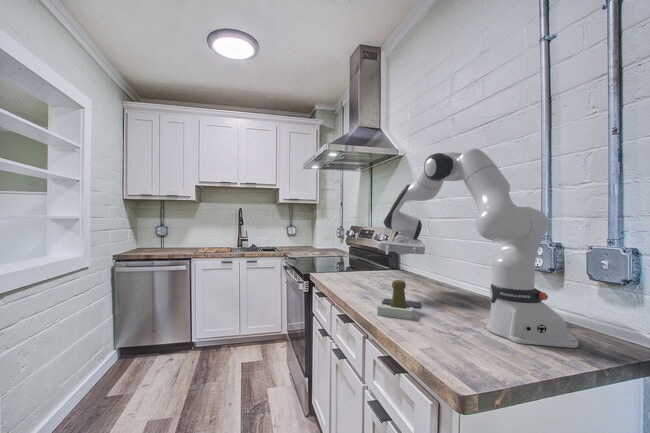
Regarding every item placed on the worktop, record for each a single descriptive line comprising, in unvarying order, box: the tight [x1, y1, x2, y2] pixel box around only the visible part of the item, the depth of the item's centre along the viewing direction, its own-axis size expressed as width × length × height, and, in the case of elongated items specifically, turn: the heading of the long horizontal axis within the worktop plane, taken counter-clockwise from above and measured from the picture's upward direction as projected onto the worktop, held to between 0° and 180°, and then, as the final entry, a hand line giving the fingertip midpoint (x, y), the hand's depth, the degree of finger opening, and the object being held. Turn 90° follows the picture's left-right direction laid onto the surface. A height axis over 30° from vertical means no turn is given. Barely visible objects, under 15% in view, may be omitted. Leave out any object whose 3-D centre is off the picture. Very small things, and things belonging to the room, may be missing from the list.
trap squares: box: [381, 298, 422, 309], centre depth 119 cm, size 15×7×1 cm, turn 67°
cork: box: [390, 279, 408, 309], centre depth 112 cm, size 6×6×11 cm
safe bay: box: [376, 302, 414, 321], centre depth 105 cm, size 12×4×3 cm, turn 67°
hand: (400, 250), depth 124 cm, fingers open, 8 cm apart
